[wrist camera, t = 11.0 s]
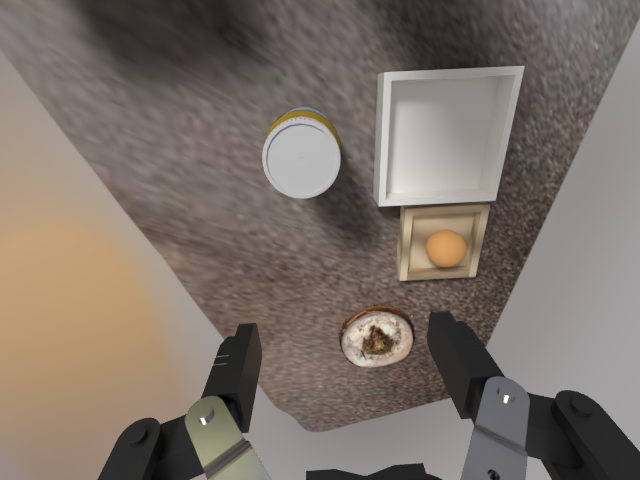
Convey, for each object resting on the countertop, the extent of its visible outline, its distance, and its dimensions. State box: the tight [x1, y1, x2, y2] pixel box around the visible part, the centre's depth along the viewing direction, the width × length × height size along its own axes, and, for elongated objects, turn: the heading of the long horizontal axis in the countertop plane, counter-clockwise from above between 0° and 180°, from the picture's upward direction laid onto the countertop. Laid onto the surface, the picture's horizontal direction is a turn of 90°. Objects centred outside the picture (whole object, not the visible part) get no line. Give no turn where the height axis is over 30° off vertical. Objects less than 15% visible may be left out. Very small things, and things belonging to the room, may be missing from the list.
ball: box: [426, 230, 466, 267], centre depth 40 cm, size 5×5×5 cm
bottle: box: [262, 107, 341, 198], centre depth 30 cm, size 7×7×15 cm
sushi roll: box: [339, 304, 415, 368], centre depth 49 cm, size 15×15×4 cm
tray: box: [396, 201, 491, 281], centre depth 42 cm, size 11×11×2 cm
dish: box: [373, 66, 525, 207], centre depth 36 cm, size 15×15×4 cm
